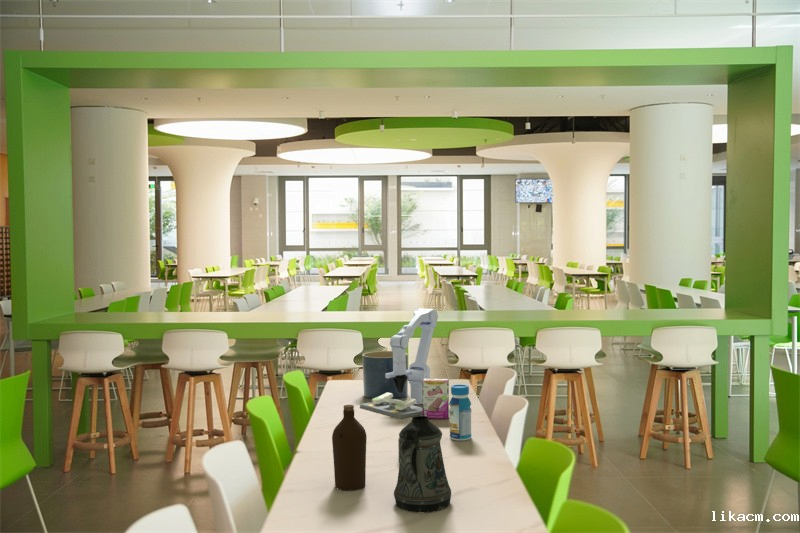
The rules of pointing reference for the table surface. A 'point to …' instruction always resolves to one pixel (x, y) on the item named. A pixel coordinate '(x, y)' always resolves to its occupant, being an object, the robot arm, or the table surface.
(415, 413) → the switch unit
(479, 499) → the table surface
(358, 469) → the olive oil
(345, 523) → the table surface
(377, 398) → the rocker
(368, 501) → the table surface
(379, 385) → the planter
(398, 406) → the rocker
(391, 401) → the block
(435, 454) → the beer stein
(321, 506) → the table surface
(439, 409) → the candy bar box
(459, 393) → the beverage bottle
